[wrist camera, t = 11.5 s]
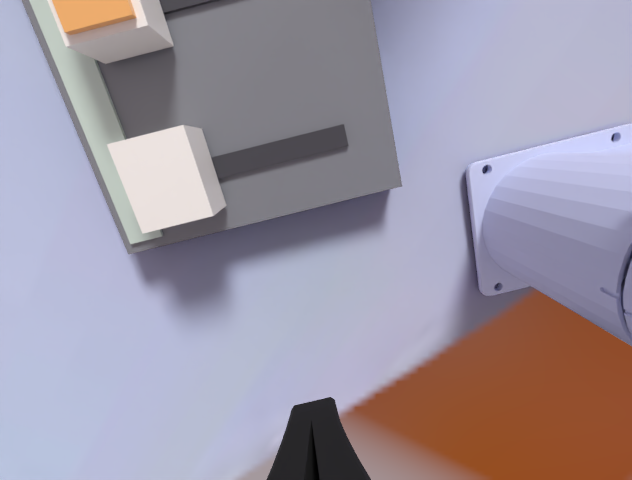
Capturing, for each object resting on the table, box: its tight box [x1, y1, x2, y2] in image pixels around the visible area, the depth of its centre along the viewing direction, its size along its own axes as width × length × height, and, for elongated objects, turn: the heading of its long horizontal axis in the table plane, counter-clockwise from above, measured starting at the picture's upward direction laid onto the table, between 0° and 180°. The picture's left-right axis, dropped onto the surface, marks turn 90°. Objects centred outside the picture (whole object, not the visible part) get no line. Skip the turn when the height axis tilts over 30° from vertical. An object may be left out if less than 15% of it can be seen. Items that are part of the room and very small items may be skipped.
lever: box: [107, 125, 226, 234], centre depth 14 cm, size 3×4×2 cm
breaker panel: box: [22, 0, 402, 254], centre depth 15 cm, size 14×20×2 cm
